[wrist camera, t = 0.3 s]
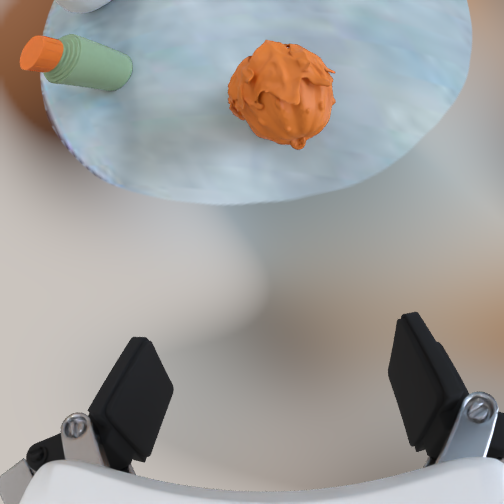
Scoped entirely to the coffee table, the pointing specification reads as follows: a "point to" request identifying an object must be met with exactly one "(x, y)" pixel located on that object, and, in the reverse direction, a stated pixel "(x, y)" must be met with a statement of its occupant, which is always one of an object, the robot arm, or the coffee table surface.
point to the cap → (41, 54)
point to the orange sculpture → (282, 93)
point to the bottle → (90, 65)
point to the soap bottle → (81, 5)
